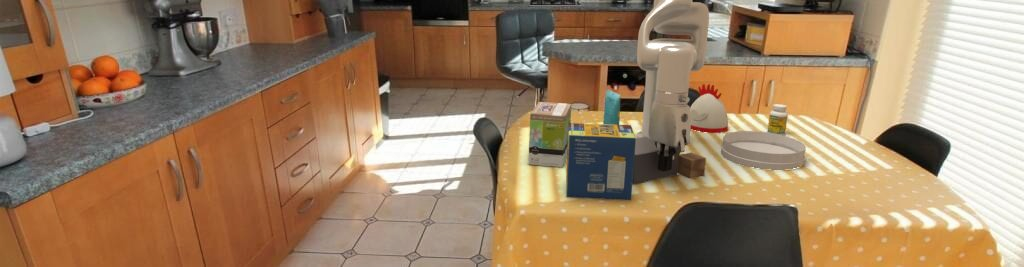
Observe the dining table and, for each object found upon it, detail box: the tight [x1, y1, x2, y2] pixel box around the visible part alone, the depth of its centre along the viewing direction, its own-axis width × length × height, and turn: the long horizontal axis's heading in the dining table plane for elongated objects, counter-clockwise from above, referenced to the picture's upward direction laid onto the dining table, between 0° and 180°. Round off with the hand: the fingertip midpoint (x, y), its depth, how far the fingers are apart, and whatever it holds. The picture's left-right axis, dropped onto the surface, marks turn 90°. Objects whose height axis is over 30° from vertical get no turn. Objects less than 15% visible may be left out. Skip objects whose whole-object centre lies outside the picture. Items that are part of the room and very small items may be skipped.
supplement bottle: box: [766, 103, 789, 136], centre depth 181 cm, size 5×5×10 cm
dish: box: [720, 130, 807, 171], centre depth 158 cm, size 22×22×5 cm
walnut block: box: [677, 152, 707, 180], centre depth 144 cm, size 5×5×5 cm
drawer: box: [632, 150, 680, 185], centre depth 144 cm, size 12×15×8 cm
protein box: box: [565, 122, 637, 201], centre depth 131 cm, size 10×15×16 cm
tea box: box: [527, 101, 572, 168], centre depth 155 cm, size 15×10×15 cm, turn 168°
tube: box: [602, 89, 622, 125], centre depth 154 cm, size 7×5×19 cm, turn 26°
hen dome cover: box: [689, 83, 729, 134], centre depth 187 cm, size 14×14×15 cm
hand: (664, 169), depth 137 cm, fingers closed
